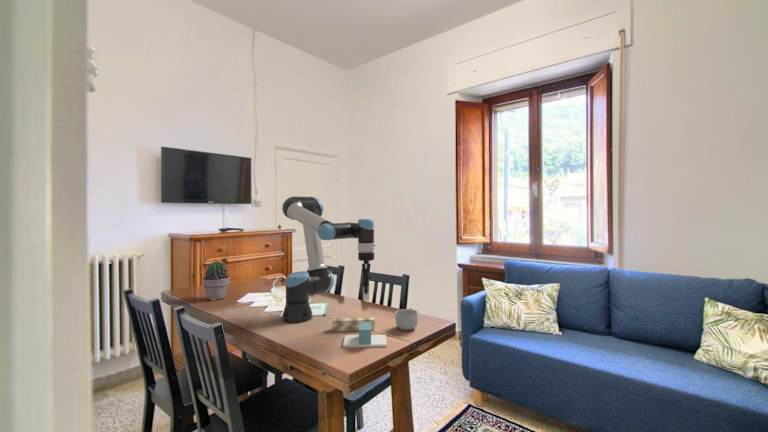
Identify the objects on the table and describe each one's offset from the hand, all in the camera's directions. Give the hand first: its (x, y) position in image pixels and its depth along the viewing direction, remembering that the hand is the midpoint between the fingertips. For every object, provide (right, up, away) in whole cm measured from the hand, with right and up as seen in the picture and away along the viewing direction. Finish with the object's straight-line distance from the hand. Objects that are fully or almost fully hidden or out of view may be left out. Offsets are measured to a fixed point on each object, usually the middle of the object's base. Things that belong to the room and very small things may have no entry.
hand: (366, 296), depth 164 cm
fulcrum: (0, -16, -16) cm, 22 cm away
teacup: (+20, -16, +3) cm, 25 cm away
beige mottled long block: (-6, -16, 0) cm, 17 cm away
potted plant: (-98, -14, +55) cm, 113 cm away
